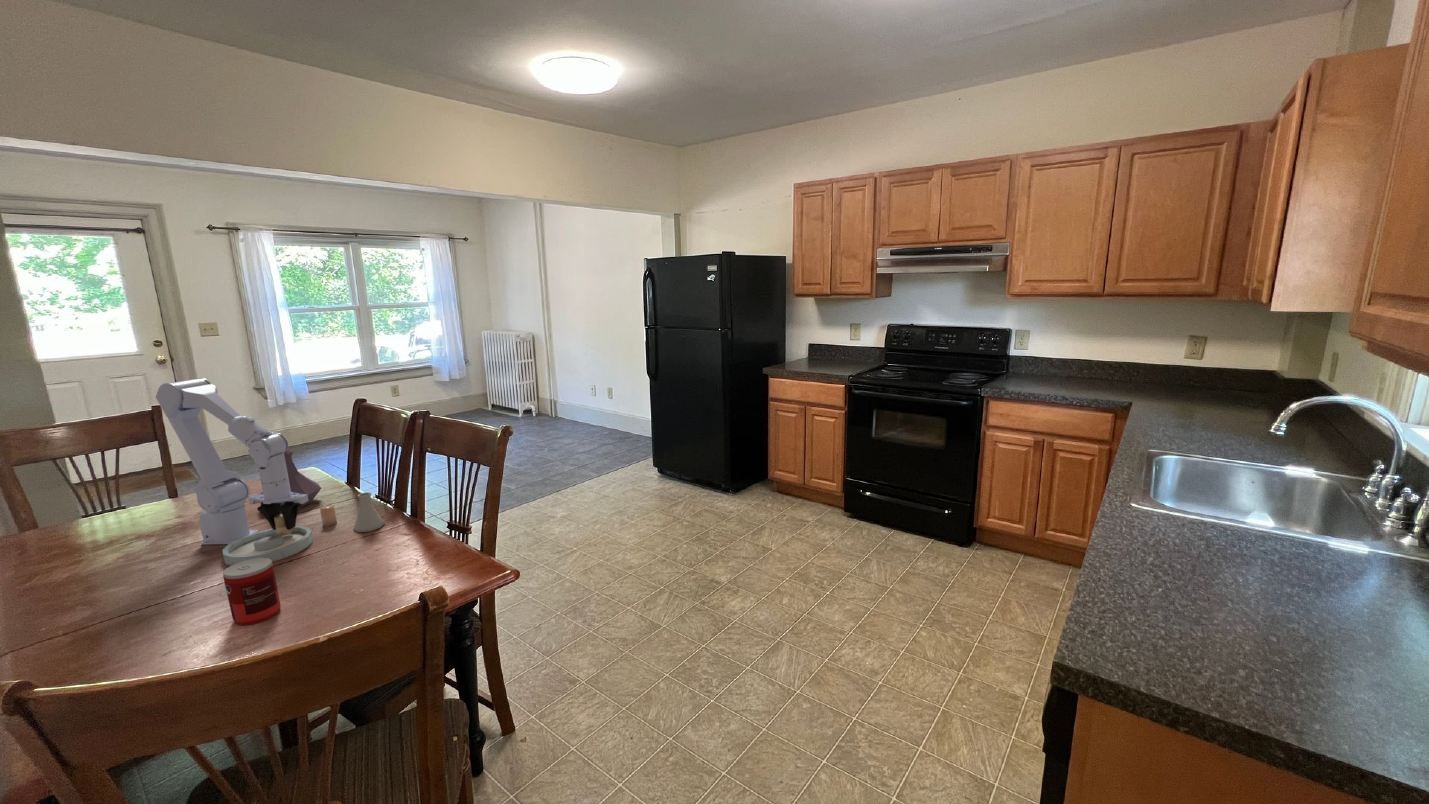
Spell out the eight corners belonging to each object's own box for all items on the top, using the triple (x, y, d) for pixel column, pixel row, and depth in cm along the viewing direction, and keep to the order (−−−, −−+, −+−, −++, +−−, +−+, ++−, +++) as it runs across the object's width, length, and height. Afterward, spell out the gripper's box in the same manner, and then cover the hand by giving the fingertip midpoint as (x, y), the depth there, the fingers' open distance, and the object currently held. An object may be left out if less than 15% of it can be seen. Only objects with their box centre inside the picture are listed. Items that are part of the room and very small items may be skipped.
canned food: (250, 606, 118) (240, 558, 116) (290, 603, 119) (281, 556, 117) (222, 627, 111) (211, 577, 109) (265, 624, 112) (254, 574, 109)
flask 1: (336, 499, 180) (325, 439, 176) (279, 518, 165) (266, 453, 161) (305, 492, 186) (294, 435, 182) (248, 510, 172) (235, 448, 168)
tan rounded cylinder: (283, 530, 152) (280, 513, 151) (296, 530, 152) (292, 513, 151) (274, 536, 148) (270, 518, 147) (286, 536, 148) (283, 518, 147)
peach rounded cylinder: (320, 526, 159) (317, 509, 158) (328, 521, 162) (325, 505, 161) (331, 526, 159) (328, 509, 158) (339, 521, 162) (337, 505, 161)
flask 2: (370, 533, 153) (365, 499, 151) (348, 532, 154) (342, 498, 152) (390, 523, 160) (385, 490, 158) (368, 521, 161) (363, 489, 159)
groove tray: (204, 566, 136) (202, 557, 136) (264, 534, 154) (262, 526, 153) (276, 566, 136) (274, 556, 135) (328, 534, 154) (326, 525, 153)
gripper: (234, 485, 143) (245, 535, 146) (290, 485, 143) (299, 534, 146) (257, 476, 150) (267, 523, 153) (310, 475, 150) (318, 523, 152)
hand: (284, 528), depth 150 cm, fingers closed on tan rounded cylinder, 3 cm apart
